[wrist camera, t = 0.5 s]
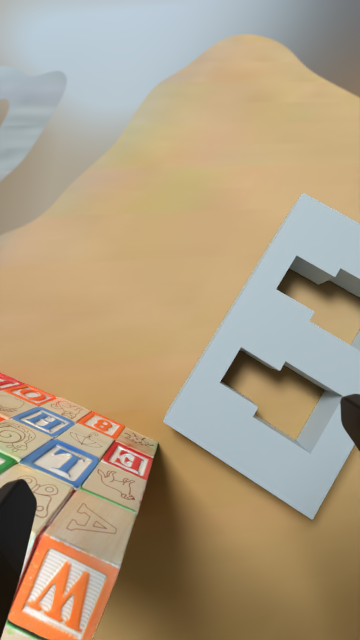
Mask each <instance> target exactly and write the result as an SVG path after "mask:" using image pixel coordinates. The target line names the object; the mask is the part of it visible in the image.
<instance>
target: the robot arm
mask: <svg viewBox="0 0 360 640" xmlns="http://www.w3.org/2000/svg"><path fill="white" fill-rule="evenodd" d="M340 409H341V422H342V425H343V428H344V429H345V431H346V432H347V434H348V435H349V437H350V438H351V439H352V441H353V442H354V444H355V445H356V447H357V448H358V450H359V451H360V394H351V395H347V396H343V397H342V398H341V400H340ZM36 509H37V500H36V497H35V495H34V494H33V492H32V490H31V489H30V487H29V485H28V483H27V482H26V480H24V479H17V480H13V481H10V482H7V483H6V484H4V485H3V486H2V487H1V488H0V640H1V637H2V634H3V631H4V628H5V625H6V621H7V618H8V615H9V612H10V609H11V606H12V603H13V599H14V596H15V593H16V590H17V587H18V583H19V580H20V576H21V572H22V569H23V565H24V561H25V556H26V552H27V548H28V543H29V539H30V535H31V531H32V526H33V522H34V518H35V514H36Z"/></svg>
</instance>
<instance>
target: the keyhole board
mask: <svg viewBox="0 0 360 640" xmlns="http://www.w3.org/2000/svg"><path fill="white" fill-rule="evenodd" d="M289 268H290V269H291V270H293V271H295V272H297V273H298V274H300V275H302V276H304V277H305V278H307V279H309V280H311V281H312V282H314V283H316V284H318V285H319V284H322V283H324V282H326V281H328V280H330V281H331V282H333V283H335V284H337V285H338V286H340V287H342V288H344V289H345V290H347V291H349V292H351V293H352V294H354V295H356V296H358V297H359V298H360V223H358V222H356V221H354V220H352V219H350V218H349V217H347V216H345V215H343V214H341V213H339V212H338V211H336V210H334V209H332V208H330V207H328V206H326V205H325V204H323V203H321V202H319V201H317V200H315V199H314V198H312V197H310V196H308V195H306V194H304V193H302V195H301V196H300V197H299V199H298V200H297V201H296V203H295V204H294V205H293V207H292V208H291V210H290V211H289V213H288V214H287V216H286V218H285V219H284V221H283V223H282V224H281V226H280V227H279V229H278V231H277V232H276V234H275V236H274V237H273V239H272V241H271V242H270V244H269V245H268V247H267V249H266V250H265V252H264V254H263V255H262V257H261V258H260V260H259V262H258V263H257V265H256V267H255V268H254V270H253V272H252V273H251V275H250V276H249V278H248V280H247V281H246V283H245V285H244V286H243V288H242V290H241V291H240V293H239V294H238V296H237V298H236V299H235V301H234V303H233V304H232V306H231V307H230V309H229V311H228V312H227V314H226V316H225V317H224V319H223V321H222V322H221V324H220V325H219V327H218V329H217V330H216V332H215V334H214V335H213V337H212V338H211V340H210V342H209V343H208V345H207V347H206V348H205V350H204V352H203V353H202V355H201V356H200V358H199V360H198V361H197V363H196V365H195V366H194V368H193V370H192V371H191V373H190V374H189V376H188V378H187V379H186V381H185V383H184V384H183V386H182V387H181V389H180V391H179V392H178V394H177V396H176V397H175V399H174V401H173V402H172V404H171V405H170V407H169V409H168V410H167V412H166V414H165V417H164V420H163V422H164V423H166V424H167V425H169V426H170V427H172V428H173V429H175V430H176V431H178V432H179V433H181V434H182V435H184V436H186V437H187V438H189V439H190V440H192V441H193V442H195V443H196V444H198V445H199V446H201V447H202V448H204V449H205V450H207V451H208V452H210V453H211V454H213V455H214V456H216V457H217V458H219V459H220V460H222V461H223V462H225V463H226V464H228V465H229V466H231V467H233V468H234V469H236V470H237V471H239V472H240V473H242V474H243V475H245V476H246V477H248V478H249V479H251V480H252V481H254V482H255V483H257V484H258V485H260V486H261V487H263V488H264V489H266V490H267V491H269V492H270V493H272V494H273V495H275V496H276V497H278V498H280V499H281V500H283V501H284V502H286V503H287V504H289V505H290V506H292V507H293V508H295V509H296V510H298V511H299V512H301V513H302V514H304V515H305V516H307V517H308V518H310V519H311V520H313V518H314V516H315V514H316V513H317V511H318V509H319V507H320V505H321V504H322V502H323V500H324V498H325V496H326V495H327V493H328V491H329V489H330V488H331V486H332V484H333V482H334V480H335V479H336V477H337V475H338V473H339V471H340V470H341V468H342V466H343V464H344V463H345V461H346V459H347V457H348V455H349V454H350V452H351V450H352V448H353V446H354V445H355V444H354V442H353V441H352V439H351V438H350V437H349V435H348V434H347V432H346V431H345V429H344V428H343V425H342V422H341V409H340V400H341V398H342V397H343V396H347V395H351V394H360V330H359V332H358V334H357V335H356V337H355V339H354V341H353V342H352V344H351V345H349V344H347V343H346V342H344V341H342V340H340V339H339V338H337V337H335V336H334V335H332V334H330V333H329V332H327V331H325V330H323V329H322V328H320V327H318V326H317V325H315V324H313V323H312V322H310V319H311V317H312V316H313V314H314V311H313V310H311V309H309V308H307V307H306V306H304V305H302V304H301V303H299V302H297V301H295V300H294V299H292V298H290V297H289V296H287V295H285V294H283V293H282V292H280V291H278V290H277V289H276V288H277V287H278V285H279V284H280V282H281V280H282V279H283V277H284V275H285V274H286V272H287V270H288V269H289ZM239 350H241V351H243V352H245V353H246V354H248V355H250V356H251V357H253V358H254V359H256V360H258V361H259V362H261V363H263V364H264V365H266V366H267V367H269V368H272V369H275V370H279V371H280V370H281V368H282V367H283V365H285V366H286V367H288V368H290V369H291V370H293V371H294V372H296V373H298V374H299V375H301V376H303V377H304V378H306V379H308V380H309V381H311V382H312V383H314V384H316V385H317V386H319V387H321V388H322V389H324V390H325V391H324V393H323V394H322V396H321V398H320V400H319V401H318V403H317V405H316V407H315V408H314V410H313V412H312V414H311V415H310V417H309V419H308V420H307V422H306V424H305V426H304V427H303V429H302V431H301V433H300V434H299V436H298V438H297V440H295V439H293V438H291V437H290V436H288V435H287V434H285V433H283V432H282V431H280V430H279V429H277V428H276V427H274V426H272V425H271V424H269V423H268V422H266V421H265V420H263V419H261V418H260V417H258V416H257V415H255V412H256V411H257V409H258V406H257V405H256V404H255V403H253V402H252V401H251V400H250V399H249V398H247V397H245V396H244V395H242V394H241V393H239V392H237V391H236V390H234V389H233V388H231V387H230V386H228V385H226V384H225V383H223V382H222V381H221V380H222V378H223V376H224V375H225V373H226V371H227V370H228V368H229V366H230V365H231V363H232V361H233V360H234V358H235V356H236V355H237V353H238V351H239Z"/></svg>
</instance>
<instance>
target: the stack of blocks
mask: <svg viewBox="0 0 360 640" xmlns="http://www.w3.org/2000/svg"><path fill="white" fill-rule="evenodd" d="M157 446H158V442H157V441H155V440H152V439H150V438H148V437H146V436H143V435H141V434H139V433H137V432H135V431H132V430H130V429H128V428H126V427H125V426H124V425H122V424H119V423H117V422H115V421H113V420H110V419H108V418H106V417H104V416H101V415H99V414H97V413H95V412H92V411H90V410H88V409H86V408H84V407H82V406H80V405H77V404H75V403H73V402H70V401H68V400H66V399H64V398H61V397H59V398H57V397H55V396H54V395H51V394H49V393H46V392H44V391H42V390H39V389H37V388H35V387H33V386H30V385H27V384H24V383H22V382H19V381H17V380H15V379H13V378H11V377H8V376H6V375H4V374H1V373H0V488H1V487H2V486H3V485H4V484H6V483H7V482H10V481H13V480H17V479H24V480H26V482H27V483H28V485H29V487H30V489H31V490H32V492H33V494H34V495H35V497H36V500H37V509H36V514H35V518H34V522H33V526H32V531H31V535H30V539H29V543H28V548H27V552H26V556H25V561H24V565H23V569H22V572H21V576H20V580H19V583H18V587H17V590H16V593H15V596H14V599H13V603H12V606H11V609H10V612H9V615H8V618H7V621H6V625H5V628H4V631H3V634H2V637H1V640H93V637H94V635H95V632H96V630H97V627H98V625H99V622H100V620H101V617H102V615H103V612H104V610H105V607H106V605H107V602H108V600H109V597H110V594H111V592H112V589H113V587H114V584H115V582H116V579H117V576H118V573H119V570H120V567H121V564H122V561H123V558H124V555H125V551H126V548H127V545H128V541H129V538H130V535H131V531H132V529H133V526H134V524H135V521H136V518H137V516H138V513H139V510H140V504H141V502H142V499H143V495H144V492H145V488H146V485H147V480H148V476H149V473H150V469H151V466H152V462H153V458H154V456H155V452H156V450H157Z"/></svg>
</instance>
